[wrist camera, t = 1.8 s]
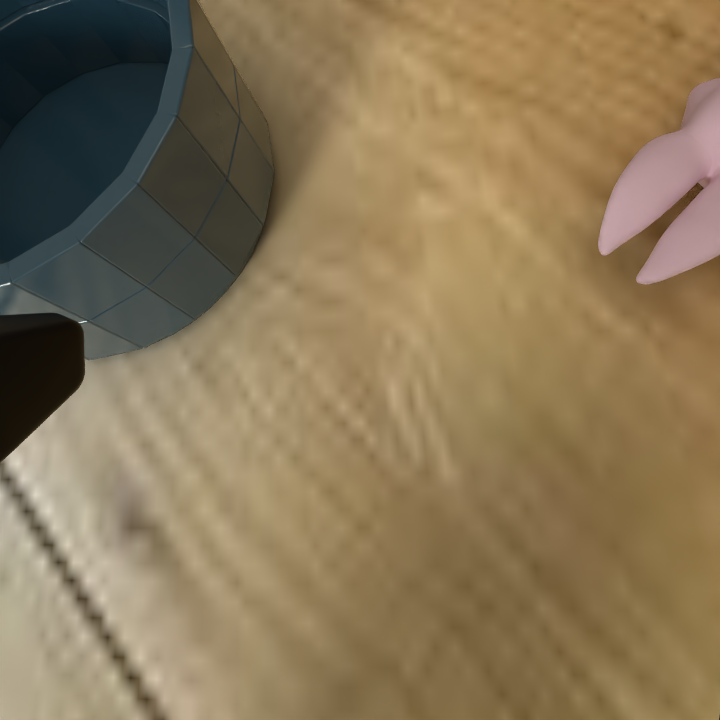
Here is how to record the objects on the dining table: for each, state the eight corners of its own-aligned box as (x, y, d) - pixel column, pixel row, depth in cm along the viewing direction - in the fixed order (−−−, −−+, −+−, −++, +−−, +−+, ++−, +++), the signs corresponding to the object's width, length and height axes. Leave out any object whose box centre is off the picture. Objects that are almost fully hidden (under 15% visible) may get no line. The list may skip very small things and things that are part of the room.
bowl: (171, 422, 25) (27, 377, 17) (-84, 285, 29) (-292, 201, 21) (339, 108, 27) (275, -57, 19) (76, 20, 31) (-63, -145, 23)
